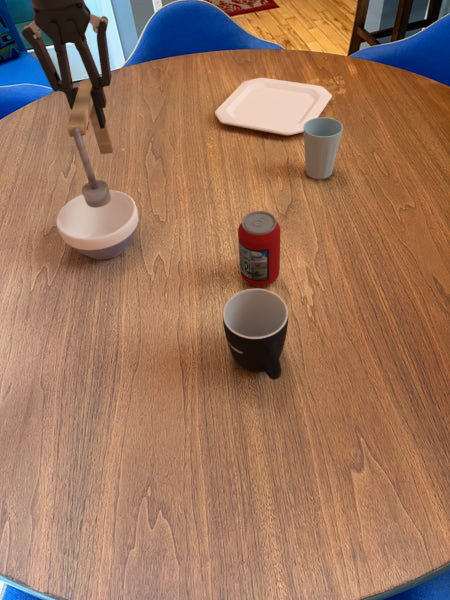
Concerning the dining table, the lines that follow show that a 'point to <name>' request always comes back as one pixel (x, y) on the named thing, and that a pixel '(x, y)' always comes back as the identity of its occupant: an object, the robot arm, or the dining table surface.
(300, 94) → the plate
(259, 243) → the beverage can
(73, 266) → the dining table surface
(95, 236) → the bowl
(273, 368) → the mug
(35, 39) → the robot arm
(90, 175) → the ladle
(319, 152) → the cup
